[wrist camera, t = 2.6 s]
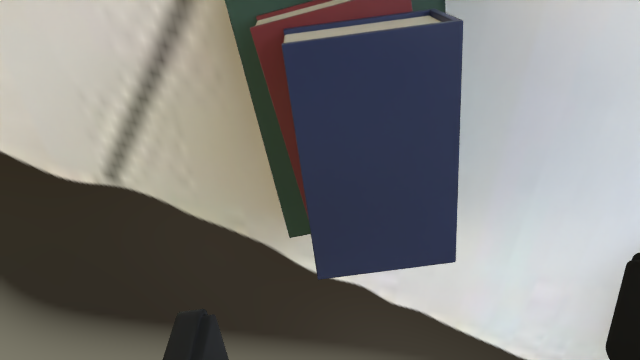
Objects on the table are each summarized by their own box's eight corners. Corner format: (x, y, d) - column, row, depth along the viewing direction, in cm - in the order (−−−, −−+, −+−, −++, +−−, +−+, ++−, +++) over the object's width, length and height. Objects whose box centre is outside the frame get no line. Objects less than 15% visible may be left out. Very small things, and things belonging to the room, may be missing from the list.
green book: (422, -71, 24) (440, -74, 21) (439, 181, 32) (455, 206, 29) (227, -29, 25) (217, -26, 22) (290, 210, 32) (289, 238, 29)
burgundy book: (390, -21, 22) (409, -15, 19) (424, 196, 28) (443, 232, 25) (256, 15, 23) (249, 28, 19) (317, 221, 29) (321, 260, 25)
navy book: (435, 8, 19) (463, 20, 16) (434, 220, 24) (455, 262, 21) (283, 28, 19) (281, 44, 16) (314, 236, 24) (318, 279, 21)
